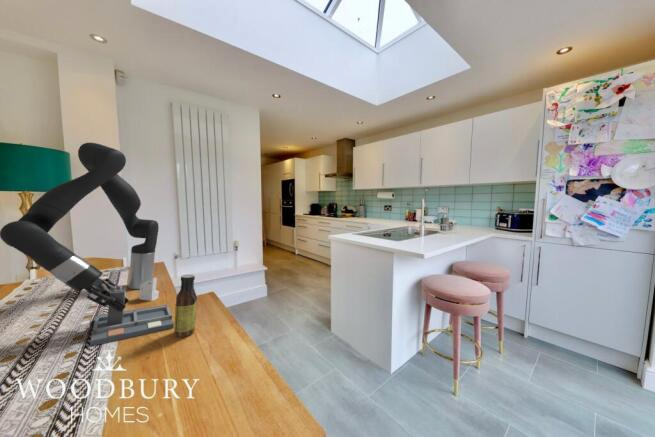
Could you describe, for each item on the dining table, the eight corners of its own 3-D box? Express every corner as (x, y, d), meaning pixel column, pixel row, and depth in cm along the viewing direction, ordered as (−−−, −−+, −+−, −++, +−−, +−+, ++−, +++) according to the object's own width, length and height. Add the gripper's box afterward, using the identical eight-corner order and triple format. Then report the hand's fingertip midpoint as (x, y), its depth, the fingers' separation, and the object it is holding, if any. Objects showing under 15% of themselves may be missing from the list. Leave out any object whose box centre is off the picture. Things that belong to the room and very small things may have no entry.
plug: (109, 321, 78) (112, 285, 78) (123, 319, 81) (126, 284, 80) (106, 326, 76) (110, 288, 75) (121, 324, 78) (124, 287, 77)
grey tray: (95, 320, 81) (95, 312, 81) (165, 308, 95) (166, 301, 95) (90, 346, 68) (90, 336, 68) (173, 328, 82) (174, 320, 82)
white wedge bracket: (161, 296, 100) (153, 278, 100) (141, 305, 101) (134, 286, 101) (167, 293, 103) (160, 276, 104) (149, 302, 104) (141, 284, 104)
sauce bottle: (198, 331, 81) (203, 276, 80) (181, 340, 75) (186, 280, 75) (186, 326, 84) (191, 272, 83) (168, 333, 78) (173, 275, 77)
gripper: (81, 270, 67) (131, 305, 74) (96, 259, 80) (138, 290, 86) (53, 289, 65) (107, 324, 72) (73, 275, 77) (118, 306, 84)
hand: (124, 305), depth 79 cm, fingers open, 4 cm apart
